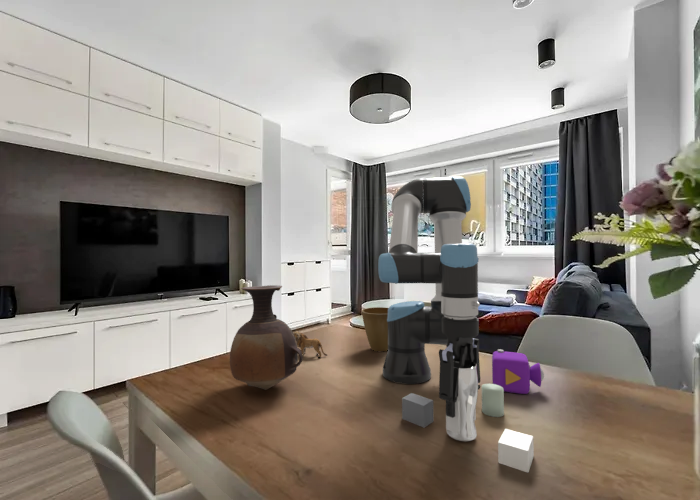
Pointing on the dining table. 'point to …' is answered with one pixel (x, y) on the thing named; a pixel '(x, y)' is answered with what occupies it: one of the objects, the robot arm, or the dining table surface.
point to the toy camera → (514, 372)
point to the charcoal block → (417, 410)
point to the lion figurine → (308, 343)
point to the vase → (264, 344)
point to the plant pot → (376, 327)
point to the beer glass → (467, 403)
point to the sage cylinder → (492, 400)
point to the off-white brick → (516, 450)
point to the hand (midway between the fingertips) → (461, 424)
